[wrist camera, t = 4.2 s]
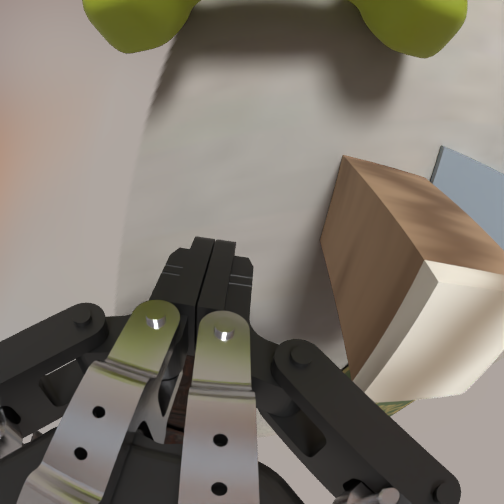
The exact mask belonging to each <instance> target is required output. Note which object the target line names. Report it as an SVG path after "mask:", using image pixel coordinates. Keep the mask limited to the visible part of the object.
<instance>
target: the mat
mask: <svg viewBox="0 0 504 504" xmlns="http://www.w3.org/2000/svg"><path fill="white" fill-rule="evenodd" d="M430 182H431V183H432V184H433V185H434V186H436V187H437V188H438V189H439V190H440V191H442V192H443V193H444V194H445V195H446V196H448V197H449V198H450V199H451V200H452V201H453V202H454V203H456V204H457V205H458V206H459V207H460V208H461V209H462V210H463V211H464V212H466V213H467V214H468V215H469V216H470V217H471V218H472V219H473V220H474V221H475V222H476V223H477V224H478V225H479V226H480V227H481V228H482V229H483V230H484V231H485V232H486V233H487V234H488V235H489V236H490V237H491V238H492V239H493V240H494V241H495V242H496V243H497V244H498V245H499V246H500V247H501V248H502V249H503V250H504V174H502V173H500V172H498V171H496V170H494V169H492V168H490V167H488V166H486V165H484V164H482V163H480V162H478V161H476V160H474V159H472V158H469V157H467V156H465V155H463V154H460V153H458V152H456V151H453V150H451V149H449V148H446V147H444V146H441V149H440V152H439V155H438V159H437V162H436V165H435V168H434V171H433V174H432V177H431V180H430Z"/></svg>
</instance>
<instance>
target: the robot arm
mask: <svg viewBox="0 0 504 504" xmlns="http://www.w3.org/2000/svg"><path fill="white" fill-rule="evenodd" d="M235 248H236V242H231V241H224V240H216V242H215V239H210V238H203V237H195V238H194V241H193V243H192V246H191V248H190V249H185V248H179V249H177V250H176V251H175V252H173V253H172V254H171V255H170V256H169V258H168V261H167V263H166V266H165V267H164V269H163V271H162V273H161V275H160V277H159V279H158V282H157V284H156V286H155V288H154V290H153V292H152V295H151V297H150V299H149V301H146V302H143V303H141V304H140V305H138V306H137V307H136V308H135V310H134V311H133V313H132V314H131V315H127V316H112V317H105V314H104V311H103V310H102V309H101V308H100V307H99V306H97V305H95V304H92V303H80V304H77V305H74V306H72V307H70V308H68V309H66V310H64V311H62V312H60V313H57V314H55V315H53V316H51V317H49V318H47V319H46V320H43V321H41V322H39V323H37V324H35V325H33V326H31V327H29V328H27V329H25V330H23V331H21V332H19V333H17V334H15V335H13V336H11V337H9V338H7V339H5V340H3V341H1V342H0V504H304V503H303V501H302V500H301V499H300V498H299V497H298V496H297V494H296V493H295V492H294V491H293V490H292V489H291V487H290V486H289V485H288V484H287V483H286V481H285V480H284V479H283V478H282V477H281V476H279V475H278V474H277V473H276V472H275V471H273V470H272V469H271V468H269V467H268V466H266V465H264V464H262V463H261V462H258V452H257V451H258V450H257V422H256V408H258V410H259V412H260V414H261V415H262V417H263V418H264V419H265V420H266V422H267V423H268V424H269V425H270V426H271V428H272V429H273V430H274V431H275V432H276V433H277V435H278V436H279V437H280V438H281V439H282V440H283V442H284V443H285V444H286V445H287V446H288V447H289V449H290V450H291V451H292V452H293V453H294V454H295V455H296V456H297V458H298V459H299V460H300V461H301V462H302V463H303V464H304V465H305V466H306V467H307V468H308V470H309V471H310V472H311V473H312V474H313V475H314V476H315V477H316V478H317V479H318V480H319V481H320V482H321V483H322V484H323V485H324V486H325V487H326V488H327V489H328V490H329V492H330V493H332V494H333V496H335V498H336V499H335V500H334V502H333V504H459V501H460V496H461V489H460V484H459V482H458V480H457V479H456V477H455V476H454V475H452V474H451V473H450V472H449V471H448V470H447V469H446V468H445V467H444V466H442V465H441V464H440V463H439V462H438V461H437V460H436V459H435V458H434V457H433V456H432V455H430V454H429V453H428V452H427V451H426V450H425V449H424V448H423V447H422V446H421V445H420V444H418V443H417V442H416V441H415V440H414V439H413V438H412V437H411V436H410V435H409V434H407V432H406V431H404V430H403V429H402V428H401V427H400V426H399V425H398V424H397V423H396V422H395V421H394V420H393V419H392V418H391V417H390V416H388V415H387V414H386V413H385V412H384V411H383V410H382V409H381V408H380V407H379V406H378V405H377V404H376V403H375V402H374V401H373V400H372V399H370V398H369V397H368V396H367V395H366V394H365V393H364V392H363V391H362V390H361V389H360V388H359V387H358V386H357V385H356V384H355V383H354V382H353V381H352V380H351V379H350V378H349V377H348V376H347V375H345V374H344V373H343V372H342V371H341V370H340V369H339V368H338V367H337V366H336V365H335V364H334V363H333V362H332V361H331V360H330V359H329V358H328V357H327V356H326V355H325V354H324V353H323V352H322V351H321V350H320V349H319V348H318V347H316V346H315V345H314V344H312V343H310V342H308V341H305V340H300V339H292V340H287V341H285V342H283V343H281V344H280V345H278V344H275V343H273V342H270V341H268V340H266V339H264V338H262V337H260V336H259V335H258V334H257V333H256V332H255V331H254V330H253V328H252V327H251V325H250V321H249V315H250V303H251V291H252V278H253V265H252V264H251V262H250V260H249V258H246V257H239V256H234V255H235ZM195 351H196V353H195ZM186 355H190V356H195V361H194V369H193V377H192V384H191V385H190V388H189V394H188V402H187V411H186V420H185V429H184V439H183V444H164V440H165V435H166V425H167V420H168V417H169V414H170V411H171V408H172V405H173V402H174V399H175V396H176V393H177V390H178V387H179V384H180V381H181V378H182V374H183V367H184V364H185V359H186ZM74 359H76V360H75V361H73V362H71V363H69V364H67V365H65V364H66V363H68V362H70V361H72V360H74ZM63 365H65V366H63ZM61 366H63V367H61ZM59 367H61V368H60V369H58V370H56V371H54V370H55V369H57V368H59ZM52 371H54V372H52ZM50 372H52V373H50ZM48 373H50V374H48ZM46 374H48V375H46ZM61 417H62V419H61V421H60V423H59V426H58V427H55V428H53V429H51V430H49V431H48V432H46V433H44V434H43V435H41V436H39V437H38V438H36V439H34V440H32V441H31V442H29V443H27V444H26V445H24V444H23V443H22V441H23V438H24V437H26V436H28V435H30V434H32V433H33V432H35V431H37V430H39V429H41V428H43V427H45V426H46V425H48V424H50V423H52V422H54V421H56V420H57V419H59V418H61Z"/></svg>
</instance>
